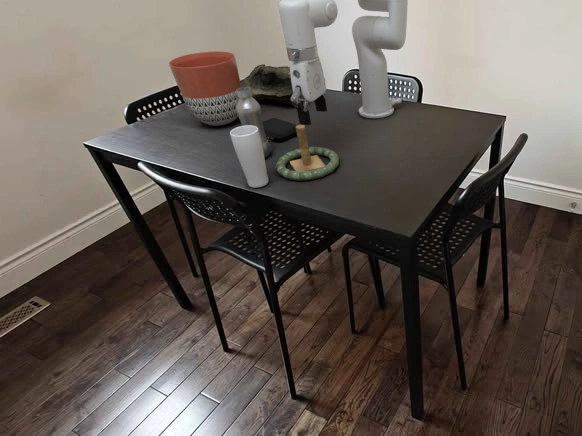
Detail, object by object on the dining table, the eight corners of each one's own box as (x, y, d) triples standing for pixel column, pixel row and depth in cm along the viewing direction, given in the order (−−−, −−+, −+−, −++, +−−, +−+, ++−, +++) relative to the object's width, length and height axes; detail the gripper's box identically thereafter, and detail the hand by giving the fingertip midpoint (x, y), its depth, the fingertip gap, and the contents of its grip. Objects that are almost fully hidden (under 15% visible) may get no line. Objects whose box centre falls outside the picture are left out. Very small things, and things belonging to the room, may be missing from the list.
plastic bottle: (276, 153, 125) (261, 86, 113) (263, 163, 119) (245, 94, 108) (258, 150, 126) (241, 84, 115) (244, 160, 121) (224, 92, 110)
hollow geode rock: (309, 120, 158) (325, 84, 158) (286, 105, 146) (303, 66, 147) (260, 104, 170) (275, 71, 171) (236, 89, 159) (252, 53, 160)
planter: (178, 129, 141) (154, 64, 128) (220, 109, 155) (202, 49, 143) (223, 137, 135) (202, 70, 122) (262, 116, 149) (247, 53, 137)
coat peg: (317, 158, 121) (310, 118, 114) (326, 169, 115) (319, 128, 108) (290, 165, 118) (281, 124, 111) (298, 177, 112) (289, 135, 105)
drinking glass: (248, 178, 112) (233, 125, 104) (274, 176, 113) (261, 124, 104) (242, 191, 107) (225, 137, 98) (269, 189, 107) (255, 135, 99)
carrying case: (248, 134, 136) (277, 145, 129) (246, 125, 134) (275, 136, 127) (275, 123, 143) (304, 133, 136) (273, 115, 141) (302, 124, 134)
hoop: (327, 148, 127) (326, 140, 125) (348, 171, 114) (347, 163, 113) (270, 161, 120) (268, 154, 119) (286, 188, 108) (284, 180, 106)
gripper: (299, 63, 98) (311, 131, 108) (330, 45, 112) (339, 107, 122) (271, 62, 100) (286, 128, 110) (305, 44, 114) (316, 105, 124)
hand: (313, 117), depth 116 cm, fingers open, 9 cm apart
